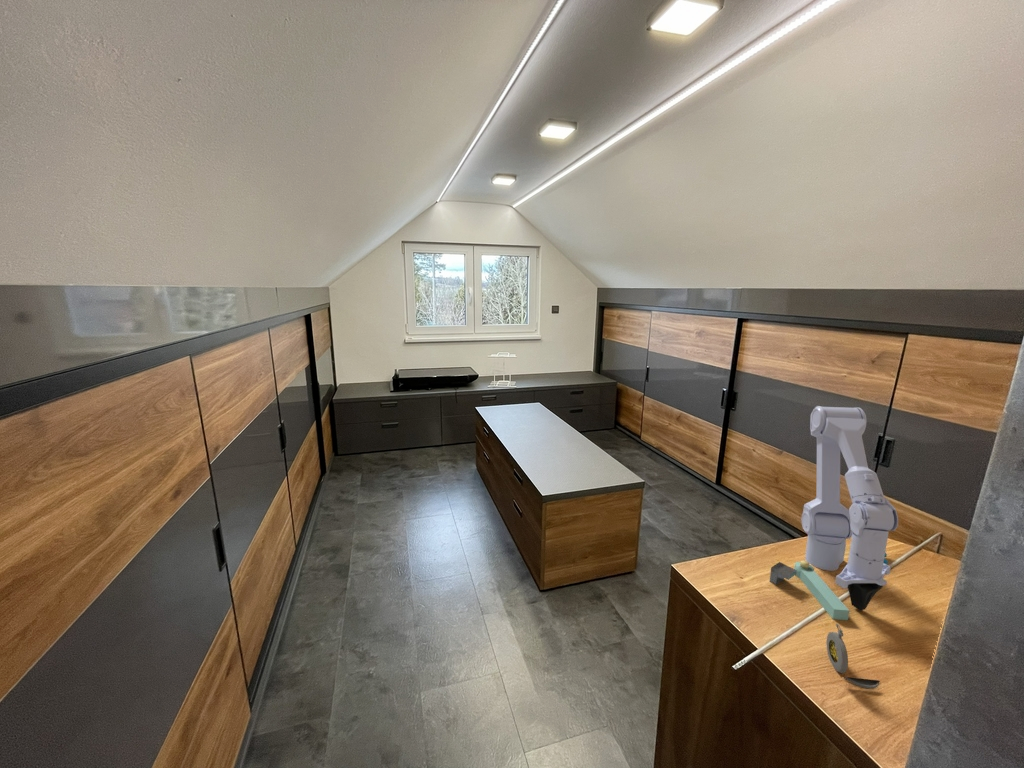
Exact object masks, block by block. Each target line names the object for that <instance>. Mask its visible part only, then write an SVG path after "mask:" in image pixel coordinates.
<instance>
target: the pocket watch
mask: <svg viewBox="0 0 1024 768" xmlns="http://www.w3.org/2000/svg"><path fill="white" fill-rule="evenodd" d="M835 626H836V629H837V632H836V631H830V632H828V634H827V636H826V652H827V656H828V659H829V661H830V663H831V666H832V667H833V669H834V670H835V671H836V672H838V673H841V674H845V673H846V672H847V671H848V667H849V656H848V651H847V647H846V644H845V642H844V640H843V638H842V637H844V632H843V630H842V628H841V626H840V624H839V623H838V622H837V623H836V624H835ZM843 678H844V679H845V680H846V681H847V682H849V683H851V684H853V685H856V686H857V687H860V688H863V689H868V690H869V689H876V688H878V687H879V685H880V683H881V681H880V680H877V679H868V678H860V677H850V676H843Z"/></svg>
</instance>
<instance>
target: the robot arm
mask: <svg viewBox="0 0 1024 768" xmlns="http://www.w3.org/2000/svg"><path fill="white" fill-rule="evenodd" d="M867 420H868V419H867V415H866V412H865V411H864V410H863V409H862V408H861V407H857V406H855V407H843V406H842V407H841V406H840V407H839V406H822V405H821V406H820V405H816V406H815V407H814V408H813V410H812V412H811V413H810V422H809V425H810V426H809V429H810V436H812V437H814V438H816V484H815V486H816V496H815V498H814V499H812V500H811V501H808V502H806V503H804V505H803V511H802V513H801V519H800V521H801V526H802V529H803V530H804V532H805V533H806V534H807V540H806V547H805V556H804V559H805V561H807V562H809V565H811V566H812V567H814V568H815V567H816V568H817V569H821V570H823V571H831V572H832V571H837V570H838V569H839V567H840V565H841V564H842V563H843V562H844V560H845V552H846V547H847V543H846V541H847V540H849V539H850V547H849V554H848V561H847V563H846V565H845V566H844V568H843V569H842V571H841V572H840V573H839V574H837V575H836V576H835V581H834V582H835V583H834V584H836V585H837V586H839V587H840V588H842V589H844V590H846V589H848V594H849V597H850V604H851V606H853V607H854V608H855V609H857V610H859V611H860V612H861V611H864V610H866V609H867V607H868V606H869V604H870V602H871V600H872V599H873V597H874V596H875V594H877V593H878V591H880V590H881V589H882V588H883V587H884V586H887V583H888V581H887V580H886V579H884V578H885V576H887V575H890V573H891V566H890V565H889V564H885V563H883V562H884V558H886V557H885V553H886V551H887V550H886V549H887V543H888V540H889V539H888V538H889V533H890V532H889V531H891V532H894V531H895V530H896V529H897V528H898V525H899V517H898V513H897V509H896V508H895V506H894V505H893V504H892V503H891V501H890V499H888V498H886V497H885V496H884V493H883V489H882V486H881V483H880V480H879V477H878V474H877V472H875V471H874V470H872V469H870V468H869V467H868V466H869V465H868V462H867V461H868V460H867V455H866V451H865V445H864V441H863V435H864V433H865V432H866V431H865V430H866V428H867ZM841 454H842V457H843V458H844V461H845V463H846V466H847V469H848V470H847V472H845V474H844V479H845V483H846V486H847V489H848V493H849V496H850V500H851V503H852V504H851V505H850V507H849V508H848V507H846V506H844V504H842V503H841Z"/></svg>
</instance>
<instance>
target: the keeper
mask: <svg viewBox="0 0 1024 768" xmlns="http://www.w3.org/2000/svg"><path fill="white" fill-rule="evenodd" d="M769 574H770V576H769V583H771V584H774V585H776V586H777V585H778V584H780V583H781V582H782V581H784V580H785V579H786V580H790V579H793V577H794V576H796V574H797V570H795V569H794V568H792V567H791V566H789V565H786V564H785V563H782V562H780V561H779V562H777V563H776V564H775V565H773V566H771V567H770V573H769Z"/></svg>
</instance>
